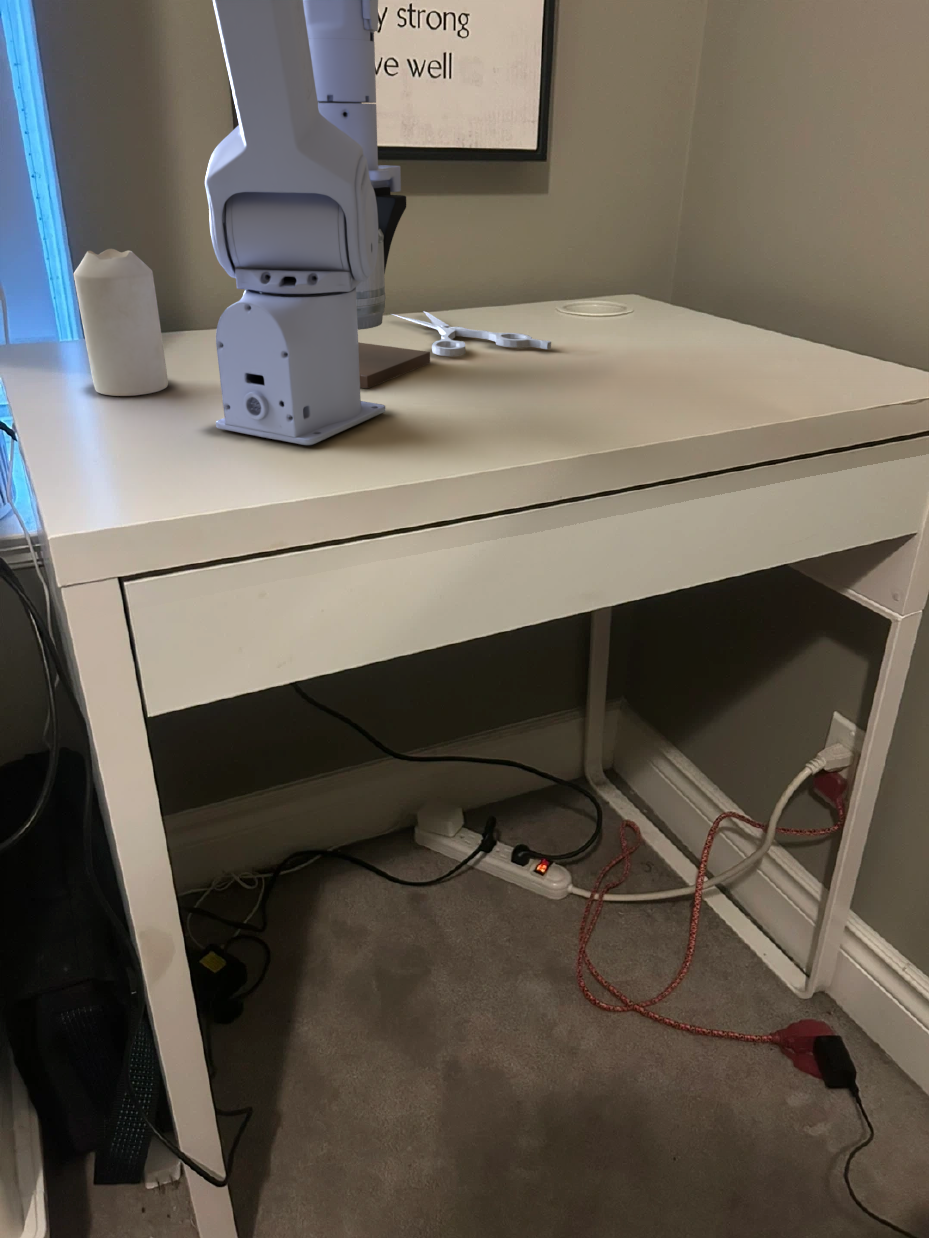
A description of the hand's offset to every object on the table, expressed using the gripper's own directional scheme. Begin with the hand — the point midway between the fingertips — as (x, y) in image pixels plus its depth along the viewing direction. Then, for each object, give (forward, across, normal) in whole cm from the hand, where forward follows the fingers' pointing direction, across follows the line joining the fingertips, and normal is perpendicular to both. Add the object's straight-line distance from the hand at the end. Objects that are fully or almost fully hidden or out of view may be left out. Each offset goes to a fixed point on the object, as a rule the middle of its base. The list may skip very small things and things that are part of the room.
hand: (346, 293), depth 75 cm
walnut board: (+6, 0, 0) cm, 6 cm away
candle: (+6, -14, +11) cm, 19 cm away
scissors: (+6, +16, -1) cm, 17 cm away
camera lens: (+3, 0, 0) cm, 3 cm away
